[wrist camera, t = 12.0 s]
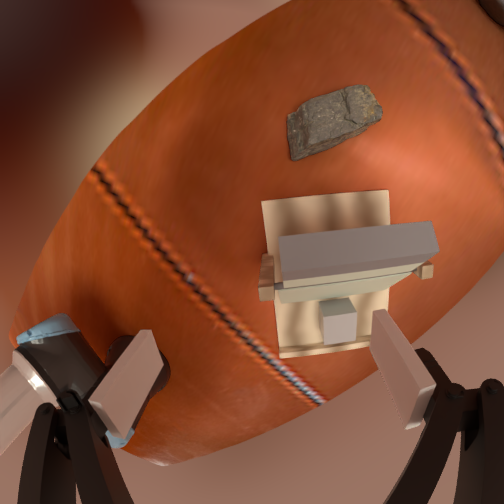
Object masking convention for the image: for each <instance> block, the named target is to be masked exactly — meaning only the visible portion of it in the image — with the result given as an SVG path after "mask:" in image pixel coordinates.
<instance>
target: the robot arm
mask: <svg viewBox="0 0 504 504" xmlns="http://www.w3.org/2000/svg"><path fill="white" fill-rule="evenodd" d="M16 339H17V343H18V345H20V346H19V347H17V348H16V349H15V350H14V351H13V363H12V365H11V366H10V367H9V368H7V369H6V370H5V371H4V372H3V373H2V374H1V375H0V456H1V454H2V453H3V452H4V451H5V450H6V449H7V448H8V446H9V445H10V444H11V443H12V442H13V441H14V439H16V437H17V436H18V435H19V434H20V433H21V432H22V431H23V430H24V429H25V428H26V426H27V425H28V424H29V423H30V422H31V421H32V420H33V422H32V426H31V430H30V434H29V438H28V442H27V446H26V451H25V455H24V460H23V466H22V472H21V478H20V485H19V492H18V502H17V504H76V484H77V488H78V492H79V495H80V499H81V502H82V504H134V502H133V500H132V498H131V496H130V494H129V492H128V489H127V487H126V485H125V483H124V480H123V478H122V475H121V473H120V471H119V468H118V465H117V463H116V460H115V457H114V455H113V452H112V449H111V448H121V447H123V446H125V445H126V444H127V443H128V441H129V439H130V438H131V436H132V435H133V434H134V430H135V428H136V426H137V424H138V422H139V420H140V418H141V416H142V414H143V412H144V410H145V408H146V406H147V404H148V402H149V400H150V399H151V398H152V397H153V396H154V395H155V394H156V393H157V392H159V391H160V390H162V389H163V388H164V387H165V385H166V384H167V382H168V380H169V377H170V367H169V364H168V362H167V360H166V358H165V357H164V355H163V354H162V353H161V352H160V351H159V350H158V348H157V345H156V342H155V339H154V337H153V334H152V331H151V330H140V331H139V333H138V334H137V335H136V337H135V336H122V337H119V338H117V339H116V340H115V341H114V342H113V343H112V344H111V346H110V347H109V349H108V352H107V357H106V360H105V363H104V364H103V362H102V361H101V360H100V358H99V357H98V356H97V354H96V353H95V352H94V350H93V349H92V348H91V346H90V345H89V343H88V342H87V340H86V339H85V338H84V336H83V335H82V333H81V330H80V329H78V328H77V327H76V325H75V324H74V323H73V321H72V320H71V318H70V317H69V316H68V315H67V314H65V313H59V314H56V315H54V316H52V317H50V318H48V319H46V320H45V321H43V322H41V323H39V324H37V325H35V326H34V327H32V328H31V329H29V330H27V331H25V332H23V333H22V334H20V335H19V336H17V338H16ZM370 351H371V354H372V356H373V358H374V360H375V362H376V364H377V366H378V368H379V371H380V373H381V375H382V377H383V379H384V382H385V384H386V386H387V388H388V391H389V393H390V395H391V397H392V400H393V402H394V404H395V407H396V409H397V412H398V414H399V416H400V419H401V421H402V424H403V426H404V429H405V430H406V429H410V428H413V427H416V426H419V425H420V423H421V421H422V419H423V418H424V420H425V422H426V425H425V427H424V429H423V431H422V433H421V436H420V438H419V441H418V443H417V445H416V447H415V449H414V451H413V453H412V455H411V457H410V459H409V461H408V463H407V465H406V467H405V468H404V470H403V472H402V474H401V476H400V477H399V479H398V481H397V483H396V484H395V486H394V487H393V489H392V491H391V492H390V494H389V496H388V497H387V499H386V500H385V502H384V503H383V504H427V503H428V501H429V499H430V497H431V495H432V493H433V491H434V489H435V487H436V485H437V482H438V481H439V478H440V476H441V474H442V471H443V469H444V467H445V464H446V461H447V458H448V456H449V453H450V451H451V448H452V445H453V442H454V439H455V436H456V433H457V432H460V431H461V448H460V450H461V451H460V462H459V471H458V479H457V486H456V493H455V498H454V503H453V504H504V386H503V384H502V383H501V382H500V381H498V380H496V379H487V380H485V381H484V382H483V383H482V385H481V386H480V388H477V389H469V390H465V388H464V387H462V386H461V385H460V384H456V383H451V381H450V380H449V378H448V377H447V375H446V374H445V372H444V371H443V370H442V368H441V367H440V366H439V365H438V363H437V361H436V360H435V358H434V357H433V356H432V354H431V353H430V352H429V351H427V350H425V349H424V348H420V349H416V350H414V349H413V348H412V347H411V345H410V343H409V342H408V340H407V339H406V338H405V336H404V335H403V333H402V332H401V330H400V329H399V328H398V326H397V325H396V323H395V322H394V321H393V319H392V318H391V316H390V315H389V314H388V312H387V311H386V310H385V309H380V310H374V311H373V314H372V327H371V339H370ZM55 406H56V407H57V406H60V407H61V409H56V408H55ZM54 438H55V442H54Z"/></svg>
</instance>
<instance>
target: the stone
mask: <svg viewBox="0 0 504 504" xmlns="http://www.w3.org/2000/svg"><path fill="white" fill-rule="evenodd" d="M318 303H319V328H320V332H321V336H322V340H323V344H324V345H329V344H336V343H343V342H349V341H355V340H356V326H357V311H356V309H355V308H354V306H353V304H352V302H351V300H350V299H349V297H348V298H341V299H334V300H326V301H318Z"/></svg>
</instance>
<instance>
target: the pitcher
mask: <svg viewBox="0 0 504 504" xmlns="http://www.w3.org/2000/svg"><path fill="white" fill-rule="evenodd" d="M479 2H480V4H481V6H482V7H483V8H484V9H485V11H486V12H487V13H488V15H489V16H490V17H491V18H492V19H493V20H494V21H496V22H497V23H498V24H500V25H502V26H504V0H479Z"/></svg>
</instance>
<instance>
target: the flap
mask: <svg viewBox="0 0 504 504" xmlns="http://www.w3.org/2000/svg"><path fill="white" fill-rule="evenodd" d="M278 241H279V250H280V260H281V269H282V277H283V285H284V288H289V289H280V290H278V293H279V297H280V301H281V304H284V303H293V302H302V301H311V300H319V299H327V298H334V297H342V296H349V295H356V294H363V293H369V292H376V291H382V290H385V289H387V288H389V287H390V286H392V285H394V284H395V283H397V282H399V281H400V280H402V279H403V278H405V277H407V276H408V275H410V274H411V272H409V271H412V270H414V269H415V268H417V267H418V266H420V265H421V264H423V263H424V262H425V261H427V260H428V259H430V258H431V257H433V256H434V255H435V254H437V253H438V252H440V250H439V247H438V243H437V239H436V235H435V232H434V228H433V225H432V221H424V222H413V223H403V224H393V225H383V226H373V227H363V228H353V229H344V230H334V231H325V232H316V233H307V234H298V235H289V236H280V237H278ZM403 272H408V273H403ZM396 273H402V274H396ZM390 274H395V275H390ZM383 275H389V276H383ZM376 276H382V277H376ZM369 277H375V278H369ZM362 278H368V279H362ZM355 279H361V280H355ZM348 280H354V281H348ZM340 281H347V282H340ZM332 282H339V283H332ZM324 283H331V284H324ZM316 284H323V285H316ZM308 285H315V286H308ZM299 286H307V287H299ZM290 287H298V288H290Z"/></svg>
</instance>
